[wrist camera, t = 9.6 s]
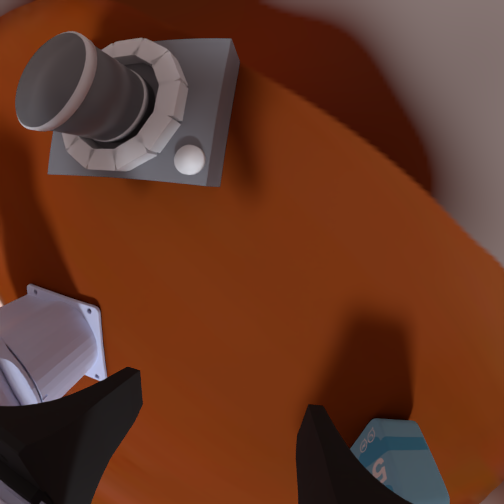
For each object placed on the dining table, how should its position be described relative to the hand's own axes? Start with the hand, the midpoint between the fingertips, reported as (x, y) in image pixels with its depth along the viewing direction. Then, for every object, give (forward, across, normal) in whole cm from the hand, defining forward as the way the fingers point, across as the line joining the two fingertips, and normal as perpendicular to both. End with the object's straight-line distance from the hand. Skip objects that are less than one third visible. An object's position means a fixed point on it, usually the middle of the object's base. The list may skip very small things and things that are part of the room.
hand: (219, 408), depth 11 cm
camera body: (+10, +9, -13) cm, 19 cm away
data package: (+10, -14, +14) cm, 22 cm away
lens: (+6, +9, -13) cm, 17 cm away
